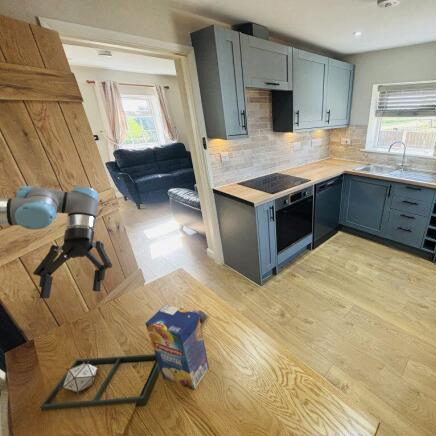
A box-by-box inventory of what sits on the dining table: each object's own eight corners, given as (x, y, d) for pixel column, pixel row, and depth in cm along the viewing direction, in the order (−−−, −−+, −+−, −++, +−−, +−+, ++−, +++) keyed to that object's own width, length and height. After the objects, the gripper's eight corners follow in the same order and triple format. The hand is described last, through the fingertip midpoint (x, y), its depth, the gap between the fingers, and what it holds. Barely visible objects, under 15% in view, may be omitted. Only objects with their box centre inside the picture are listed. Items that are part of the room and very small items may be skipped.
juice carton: (209, 367, 79) (198, 314, 69) (194, 390, 72) (180, 334, 62) (179, 357, 82) (165, 304, 72) (162, 378, 75) (144, 323, 66)
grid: (45, 414, 66) (39, 407, 64) (80, 366, 78) (76, 359, 77) (145, 405, 68) (143, 398, 67) (164, 360, 81) (162, 353, 79)
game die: (91, 397, 73) (77, 401, 64) (62, 390, 72) (44, 393, 63) (110, 364, 78) (99, 364, 70) (84, 356, 77) (69, 355, 69)
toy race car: (178, 310, 101) (175, 298, 98) (207, 321, 96) (205, 308, 94) (159, 327, 93) (156, 315, 90) (190, 340, 88) (187, 327, 85)
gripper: (126, 230, 87) (121, 289, 80) (44, 237, 81) (31, 301, 74) (116, 223, 81) (110, 287, 73) (26, 230, 75) (10, 300, 67)
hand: (70, 294), depth 74 cm, fingers open, 13 cm apart
